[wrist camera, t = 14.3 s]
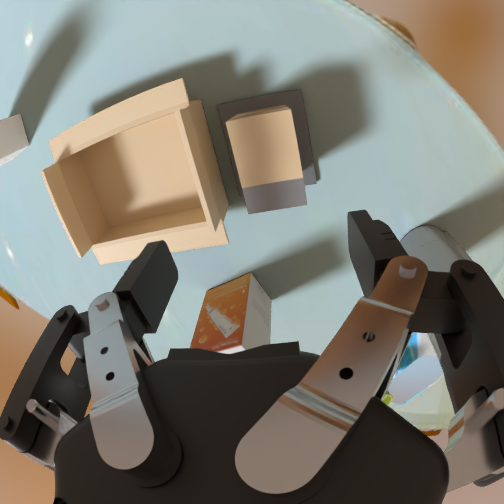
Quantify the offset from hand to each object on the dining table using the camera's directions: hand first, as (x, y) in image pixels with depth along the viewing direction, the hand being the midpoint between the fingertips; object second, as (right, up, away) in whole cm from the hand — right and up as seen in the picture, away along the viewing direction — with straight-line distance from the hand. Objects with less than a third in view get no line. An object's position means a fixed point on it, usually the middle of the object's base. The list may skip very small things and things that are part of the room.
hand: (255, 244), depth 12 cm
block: (+2, +11, +17) cm, 20 cm away
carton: (-13, +10, +20) cm, 26 cm away
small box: (-2, -7, +30) cm, 31 cm away
